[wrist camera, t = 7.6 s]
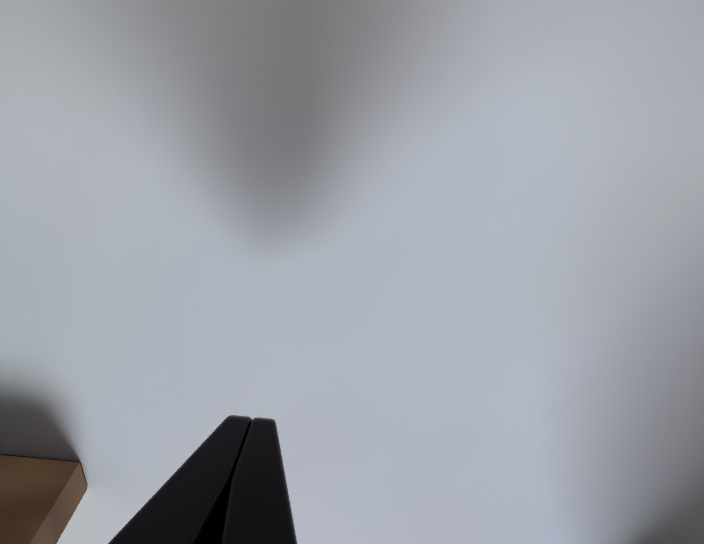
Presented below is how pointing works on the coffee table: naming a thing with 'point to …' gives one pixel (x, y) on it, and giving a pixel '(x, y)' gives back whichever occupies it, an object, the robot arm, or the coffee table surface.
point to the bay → (37, 498)
